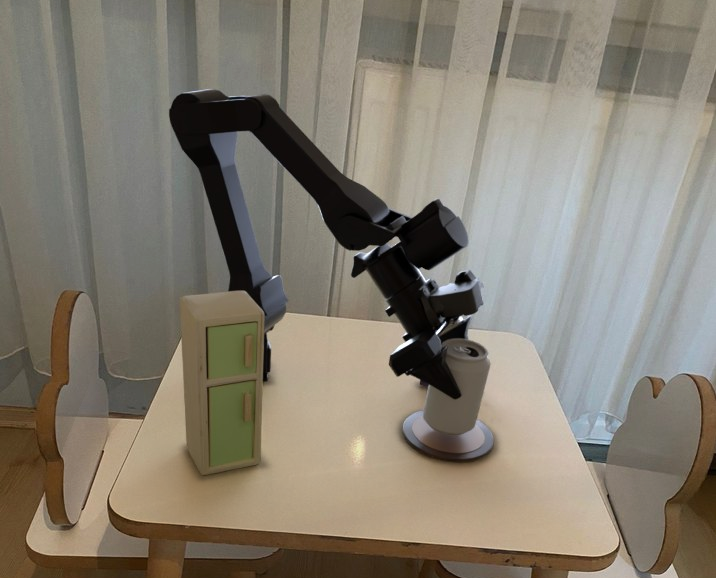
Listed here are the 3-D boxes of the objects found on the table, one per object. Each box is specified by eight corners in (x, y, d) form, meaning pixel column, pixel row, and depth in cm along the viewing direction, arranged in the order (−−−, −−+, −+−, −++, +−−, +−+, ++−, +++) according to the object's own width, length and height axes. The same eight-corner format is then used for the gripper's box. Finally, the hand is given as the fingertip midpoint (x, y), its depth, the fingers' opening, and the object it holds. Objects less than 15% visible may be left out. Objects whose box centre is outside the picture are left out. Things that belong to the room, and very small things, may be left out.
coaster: (414, 463, 95) (415, 459, 94) (393, 412, 105) (393, 408, 105) (505, 461, 98) (506, 457, 97) (476, 411, 108) (477, 408, 108)
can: (480, 439, 98) (501, 361, 91) (428, 438, 97) (445, 359, 90) (465, 410, 104) (483, 335, 97) (416, 409, 103) (431, 333, 96)
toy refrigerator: (201, 480, 87) (198, 321, 75) (184, 448, 92) (178, 294, 80) (263, 468, 90) (268, 314, 78) (243, 437, 96) (245, 289, 84)
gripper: (429, 277, 81) (500, 390, 84) (474, 236, 95) (533, 334, 99) (358, 323, 87) (426, 425, 91) (410, 278, 102) (467, 368, 105)
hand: (466, 385), depth 96 cm, fingers closed on can, 7 cm apart
